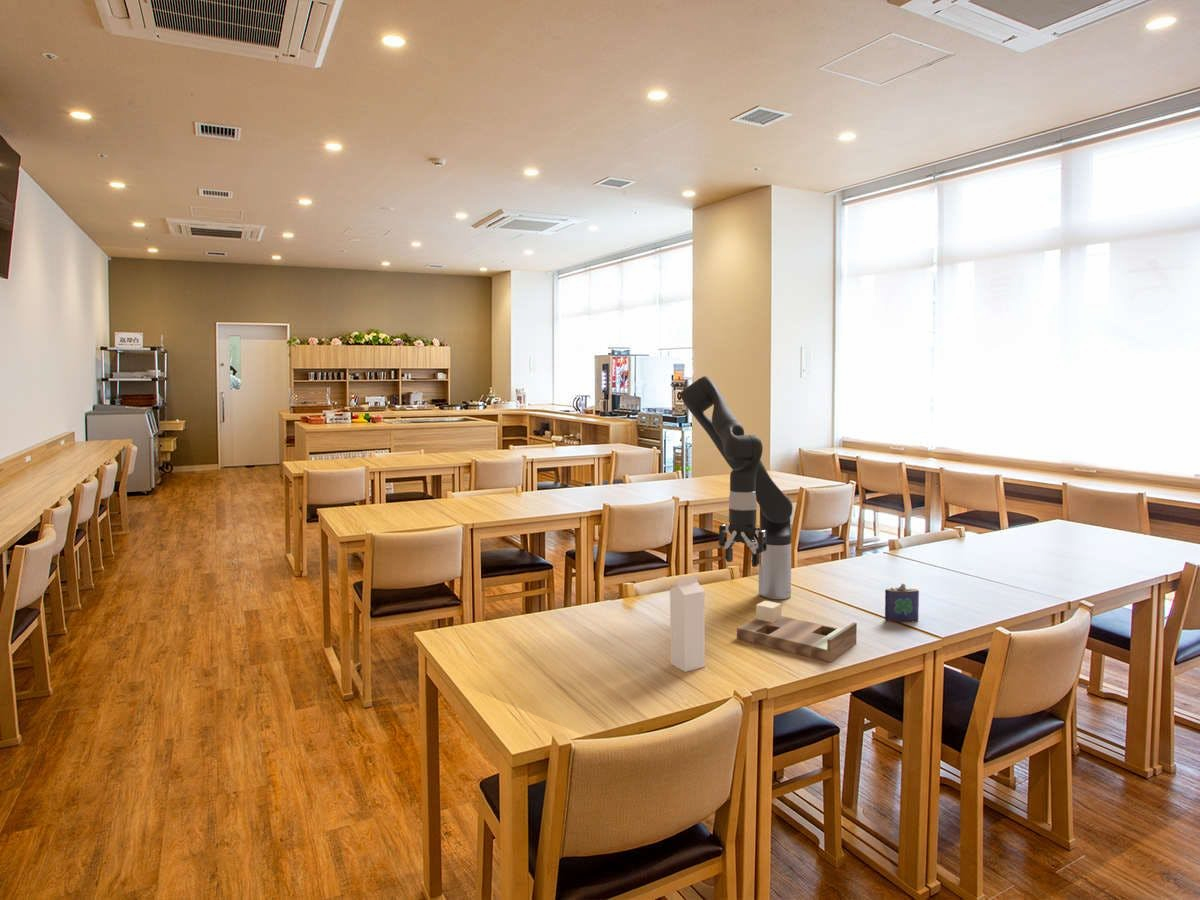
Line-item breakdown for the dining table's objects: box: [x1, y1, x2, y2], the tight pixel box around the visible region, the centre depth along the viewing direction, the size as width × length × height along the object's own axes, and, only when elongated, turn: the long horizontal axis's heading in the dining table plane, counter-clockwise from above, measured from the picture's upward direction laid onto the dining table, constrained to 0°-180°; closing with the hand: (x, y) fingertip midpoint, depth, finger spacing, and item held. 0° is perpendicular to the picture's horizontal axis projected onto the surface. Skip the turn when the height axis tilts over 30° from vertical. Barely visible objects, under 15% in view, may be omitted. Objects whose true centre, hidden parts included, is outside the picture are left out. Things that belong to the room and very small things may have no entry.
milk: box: [669, 575, 706, 673], centre depth 177 cm, size 6×6×22 cm
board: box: [736, 615, 858, 663], centre depth 193 cm, size 26×16×6 cm, turn 49°
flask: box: [884, 583, 920, 623], centre depth 206 cm, size 9×3×11 cm, turn 88°
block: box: [755, 600, 782, 623], centre depth 202 cm, size 5×5×4 cm
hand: (742, 563), depth 206 cm, fingers open, 7 cm apart
